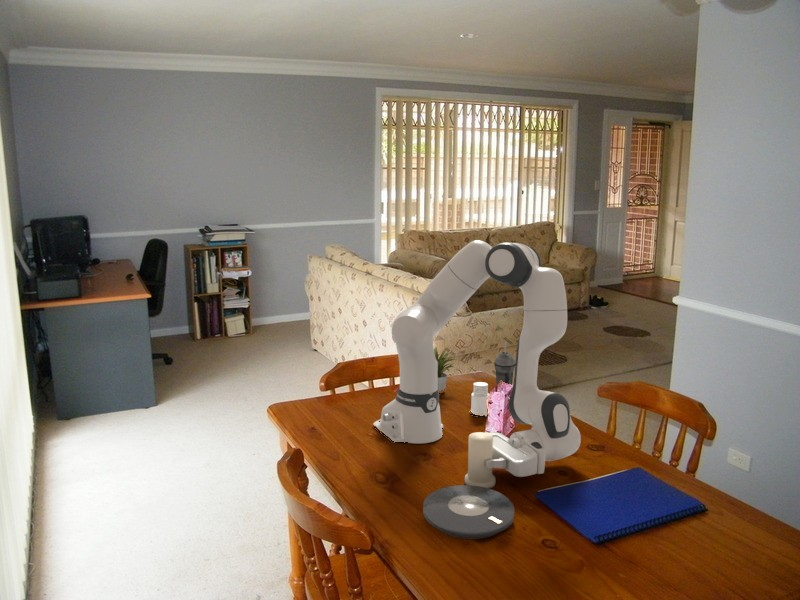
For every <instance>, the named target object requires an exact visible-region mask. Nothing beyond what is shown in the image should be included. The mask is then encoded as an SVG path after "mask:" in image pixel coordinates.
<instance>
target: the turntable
mask: <svg viewBox="0 0 800 600" xmlns="http://www.w3.org/2000/svg"><path fill="white" fill-rule="evenodd" d="M422 506H423V507H422V511H423V512H422V513H423V517H424V519H425V520H426V522H427V523H428V524H429V525H431V526H432V527H433V528H435V529H437V530H439V531H440V530H441V531H443V532H446V533H449V534H453V535H458V536H466V537H481V536H488V535H493V534H495V535H496V533H497V534H498V533H501V532H503V531H505V530H507V529H508V528H509V527H510V526H511V525H512V524H513V522H514V519H515V507H514V503H513V502H512V501H511V499H509V497H507V496H506V495H505V494H502V493H501V492H499V491H496V490H494V489H492V488H489V489H488V488H485V487H480V486H471V485H466V484H465V485H464V484H462V485H461V484H460V485H459V484H457V485H450V486H445V487H442V488H439V489H437V490H434V491H432V492H430V493H429V494H428V495H427V496H426V497H425V498H424V500H423V505H422ZM441 531H440V532H441ZM443 532H442V533H443ZM493 536H494V535H493Z"/></svg>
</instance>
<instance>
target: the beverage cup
mask: <svg viewBox="0 0 800 600" xmlns="http://www.w3.org/2000/svg"><path fill="white" fill-rule="evenodd" d="M515 363H516V359H515V358H514V356H513V355H512V354H511V353H509V352H507V340H504V351H503V352H499V353H498V354H497V356H496V357H495V360H494V363H493V364H494V370H495V379H496V380H495V384H496V386H497V384H498V383H499V381H500V380H502V381H503V382H505V383H508V384H511V385H512V386H513V381H514V373H515Z"/></svg>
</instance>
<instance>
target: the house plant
mask: <svg viewBox="0 0 800 600" xmlns="http://www.w3.org/2000/svg"><path fill="white" fill-rule="evenodd" d="M446 350H447V348H445V349H444V350H443V351H442V352H441V353H440V356H439V352H438V348H437V347H434V353H435V358H436V360H437V363H438V389H439V391H441V390H444V389H445V390H446V385H447V380H448V377H449V376H448V375H449V374H448V373H445V371H448V372H449V373H450V369H449V368H455V365H454V363H448V362H451V361H454V360H455V361H456V360H457V358H453V357H455V354H453V355H449V354H450V353H451V352H452V351H453V350H452V349H451V350H449V351H448V352H446ZM445 352H446V353H445ZM457 355H459V354H456V356H457Z"/></svg>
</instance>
